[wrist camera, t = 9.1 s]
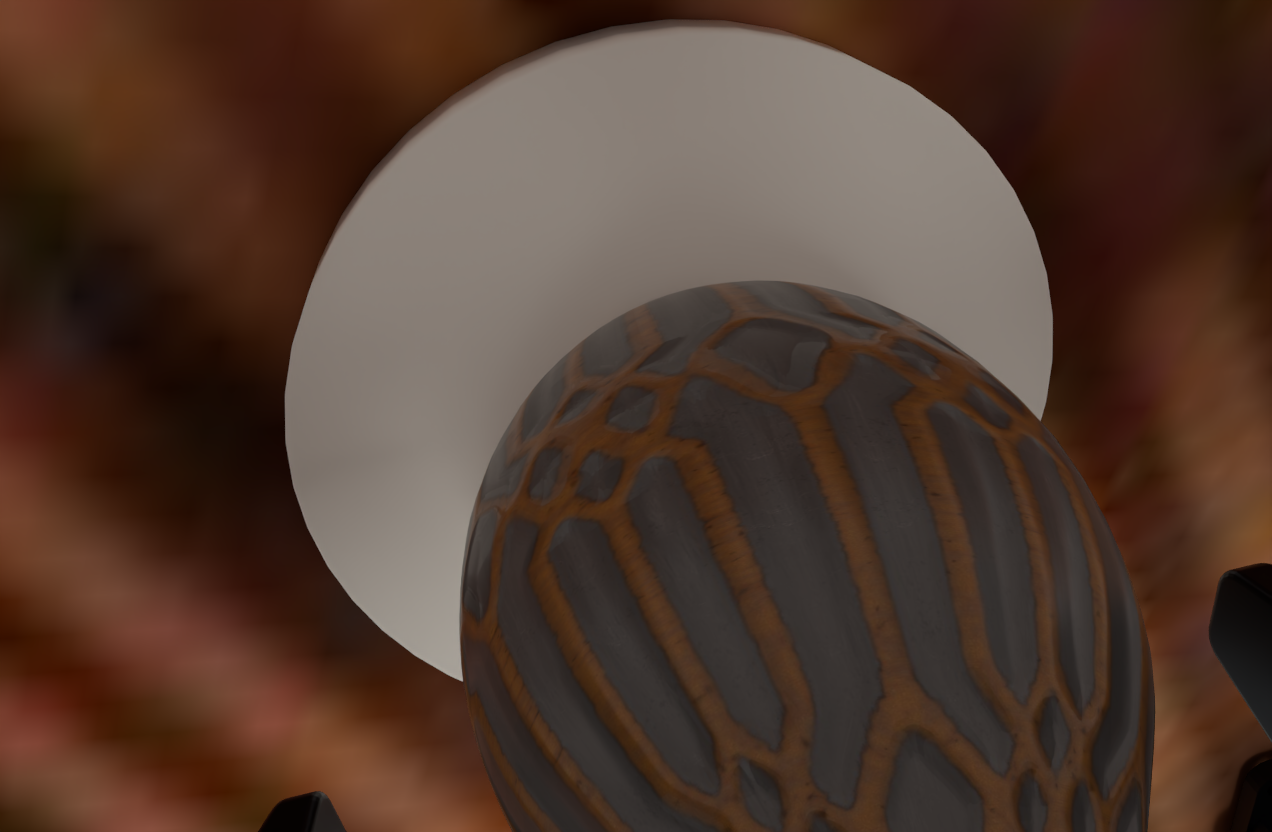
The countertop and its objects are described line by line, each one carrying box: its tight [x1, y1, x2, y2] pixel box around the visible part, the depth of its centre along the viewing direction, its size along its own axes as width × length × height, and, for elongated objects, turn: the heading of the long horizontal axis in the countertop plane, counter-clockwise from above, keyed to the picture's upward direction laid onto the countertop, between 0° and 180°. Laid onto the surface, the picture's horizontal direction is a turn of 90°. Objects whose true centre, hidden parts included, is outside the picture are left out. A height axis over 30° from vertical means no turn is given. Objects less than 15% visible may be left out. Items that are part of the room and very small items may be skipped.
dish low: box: [285, 19, 1053, 681], centre depth 14 cm, size 11×11×1 cm
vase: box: [459, 281, 1155, 832], centre depth 10 cm, size 7×7×9 cm
